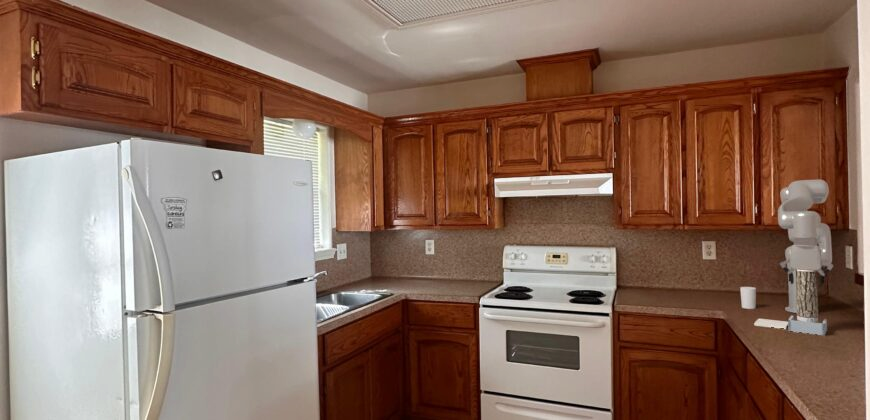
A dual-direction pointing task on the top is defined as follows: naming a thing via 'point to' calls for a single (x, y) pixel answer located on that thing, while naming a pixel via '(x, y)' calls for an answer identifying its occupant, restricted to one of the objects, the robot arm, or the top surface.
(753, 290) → the drinking glass
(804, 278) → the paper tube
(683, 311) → the top surface
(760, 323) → the tile
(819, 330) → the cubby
